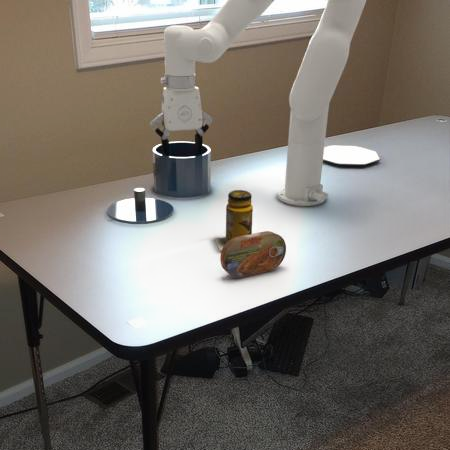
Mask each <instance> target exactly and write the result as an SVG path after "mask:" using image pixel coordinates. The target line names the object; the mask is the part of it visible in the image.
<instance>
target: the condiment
mask: <svg viewBox="0 0 450 450" xmlns="http://www.w3.org/2000/svg"><path fill="white" fill-rule="evenodd" d="M252 197H253V196H252V193H251V192H250V191H247V190H243V189H235V190H232V191H230V192H229V193H228V194H227V204H226V207H225V209H226V211H225V236H224V237H213V240H214V242H215V244H216V246H217V248H218V250H219V251H220V252H221V251H222V249H223V247H224V245H225V244H226V243H227V242H228V241H229V240H231V239H233V238H235V237H240V236H245V235H250V234H253V212H254V210H253V204H252V203H253V202H252Z"/></svg>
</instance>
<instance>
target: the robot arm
mask: <svg viewBox="0 0 450 450" xmlns="http://www.w3.org/2000/svg"><path fill="white" fill-rule="evenodd" d="M274 2H275V0H227V1H226V2H225V4H224V5H222V7H221V9H220V10H218V11H217V13H216V14H215V15H214V16H213V17H212V19H211V20H210V21H209V22H208V23H207V24H206V25H205V26H203V27H202V28H197V29H194V28H192V27H191V26H187V25H170V26H167V27H166V28H165V30H164V32H163V42H164V43H163V44H164V45H163V47H164V48H163V49H164V72H165V73H164V77H160V79H159V81H160V85H164V87H163V91H162V97H161V113H159V114H158V115H157V116H156V117H154V118H153V119H152V120H151V121H150V122H149V125H150V126H151V128H152V129H153V131H154V132H155V133H156V134H157V135H158V136H159V137H160V138H161V139H160V141H161V143H160V144H162V151H164V153H165V154H166V155H169V142H170V140H169V138H168V137H169V135H170V134H171V132H182V131H184V132H185V131H195V134H194V142H195V149H196V150H197V151H198V152H201V148H202V147H203V144H204V143H203V140H204V139H203V137H204V136H205V133H206V132H207V131H208V130H209V128H210V125H211V124H212V122H213V117H212V116H210V115H209V114H207V113H206V112H204V111H203V109H202V100H201V93H200V88H199V87H198V86H196V62H199V63H202V64H203V63H204V64H212V63H215V62H216V61H217V60H220V58H221V57H222V56H223V55H224V54H225V53H226V52H227V50H228V49H229V48H230V47H231V46H232V45H233V44H234V43H235V41H236V40H237V39H238V38H239V37H240V36H241V35H242V34H243V33H244V32H245V31H246V30H247V29H248V27H249V26H251V24H253V22H254V21H256V20H257V19H258V18H260V17H261V16H262V15H263V14H264V13H265V12H266V11H267V9H268V8H269V7H270V6H271V5H272V4H273V3H274ZM366 3H367V0H327V1H326V4H325V7H324V9H323V12H322V14H321V17H320V20H319V22H318V25H317V27H316V29H315V31H314V33H313V34H312V36H311V38H310V40H309V42H308V45H307V48H306V51H305V53H304V55H303V58H302V62H301V64H300V66H299V69H298V72H297V74H296V77H295V80H294V81H293V84H292V87H291V88H290V89H291V90H290V93H289V96H288V101H289V102H288V103H289V108H290V113H289V114H290V115H289V126H288V139H287V150H286V151H287V152H286V167H285V181H284V188H283V189H281V190H280V191H279V192H278V199H279V200H280V201H281V202H282V203H284V204H288V205H292V206H298V207H313V206H317V205H320V204H323V203H324V202H325V200H326V199H327V198H328V197H329V193H328V192H326V191H323V190H324V184H323V183H321V182H322V171H323V165H324V163H323V162H324V160H323V154H324V147H325V144H326V138H327V137H326V136H327V127H328V117H329V111H330V109H329V108H330V102H331V101H332V98H333V95H334V93H335V91H336V88H337V86H338V83H339V81H340V79H341V76H342V74H343V72H344V70H345V68H346V65H347V62H348V59H349V56H350V55H349V54H350V48H351V47H350V46H351V43H352V39H353V36H354V34H355V31H356V29H357V27H358V24H359V22H360V19H361V16H362V13H363V11H364V9H365V5H366ZM203 119H204V123H203ZM160 123H161V126H162V129H160V128H159V126H158V124H160Z"/></svg>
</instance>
